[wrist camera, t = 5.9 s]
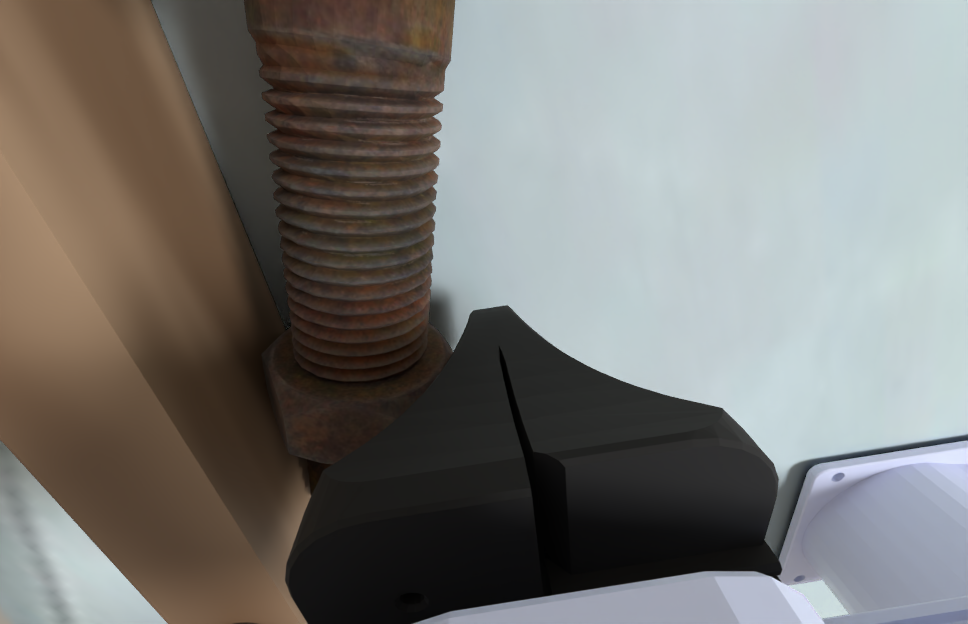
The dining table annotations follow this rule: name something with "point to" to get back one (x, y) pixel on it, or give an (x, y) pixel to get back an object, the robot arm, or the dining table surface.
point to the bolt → (352, 212)
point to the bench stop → (137, 318)
